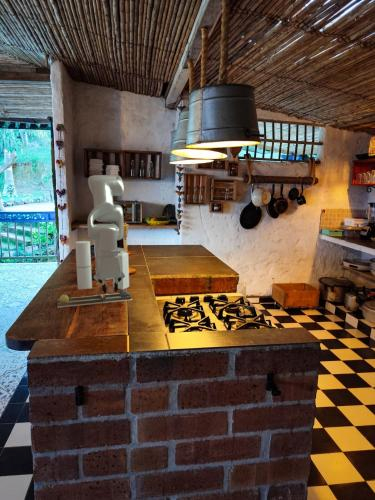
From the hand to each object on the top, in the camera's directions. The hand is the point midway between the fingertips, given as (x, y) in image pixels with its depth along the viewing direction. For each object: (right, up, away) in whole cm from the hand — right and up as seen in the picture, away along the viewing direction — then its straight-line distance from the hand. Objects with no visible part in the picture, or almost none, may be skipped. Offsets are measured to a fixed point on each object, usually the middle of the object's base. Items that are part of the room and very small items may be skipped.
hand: (110, 291), depth 164 cm
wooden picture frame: (-13, -4, -4) cm, 14 cm away
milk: (+2, -1, +20) cm, 20 cm away
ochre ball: (-19, -3, -6) cm, 20 cm away
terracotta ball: (0, +1, 0) cm, 1 cm away
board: (-7, -5, 0) cm, 9 cm away
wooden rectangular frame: (+3, -3, +2) cm, 5 cm away
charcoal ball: (+6, -1, +2) cm, 6 cm away
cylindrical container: (-17, -1, +19) cm, 26 cm away
